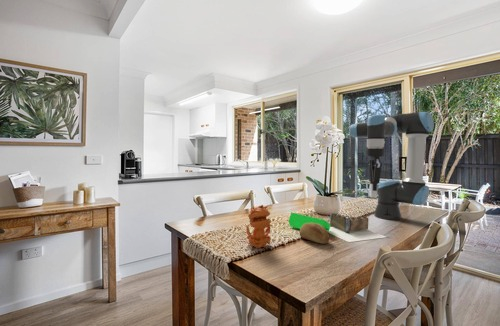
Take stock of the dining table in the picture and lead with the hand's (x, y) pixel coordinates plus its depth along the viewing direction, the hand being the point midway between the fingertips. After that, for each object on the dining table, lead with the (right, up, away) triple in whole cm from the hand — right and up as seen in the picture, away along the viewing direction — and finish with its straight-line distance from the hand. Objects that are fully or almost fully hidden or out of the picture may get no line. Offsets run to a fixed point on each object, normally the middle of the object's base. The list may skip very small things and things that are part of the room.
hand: (373, 197), depth 123 cm
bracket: (-29, -18, +10) cm, 35 cm away
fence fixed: (-13, -18, +11) cm, 25 cm away
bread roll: (-31, -19, -7) cm, 37 cm away
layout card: (-9, -19, +6) cm, 21 cm away
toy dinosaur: (-56, -19, -15) cm, 61 cm away
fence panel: (-4, -18, +8) cm, 20 cm away
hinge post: (-11, -19, +5) cm, 22 cm away
